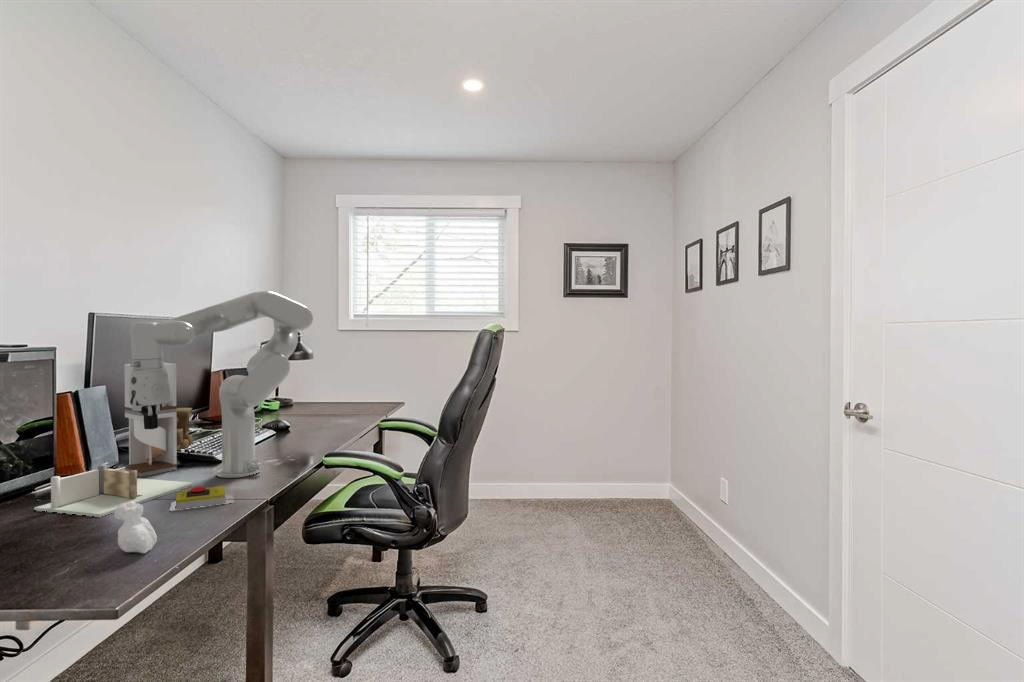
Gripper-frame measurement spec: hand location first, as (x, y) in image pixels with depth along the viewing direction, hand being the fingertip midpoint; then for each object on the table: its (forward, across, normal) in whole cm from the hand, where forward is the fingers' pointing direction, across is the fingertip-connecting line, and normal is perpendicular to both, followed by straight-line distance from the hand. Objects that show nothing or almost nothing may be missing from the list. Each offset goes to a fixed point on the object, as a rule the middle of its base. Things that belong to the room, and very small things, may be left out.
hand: (151, 428), depth 158 cm
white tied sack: (+17, -37, -34) cm, 53 cm away
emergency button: (+19, -7, -23) cm, 30 cm away
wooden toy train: (+19, +36, +29) cm, 50 cm away
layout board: (+18, -8, +3) cm, 20 cm away
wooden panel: (+16, -10, +1) cm, 19 cm away
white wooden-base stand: (+18, +17, +19) cm, 31 cm away
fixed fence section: (+16, -15, +8) cm, 24 cm away
